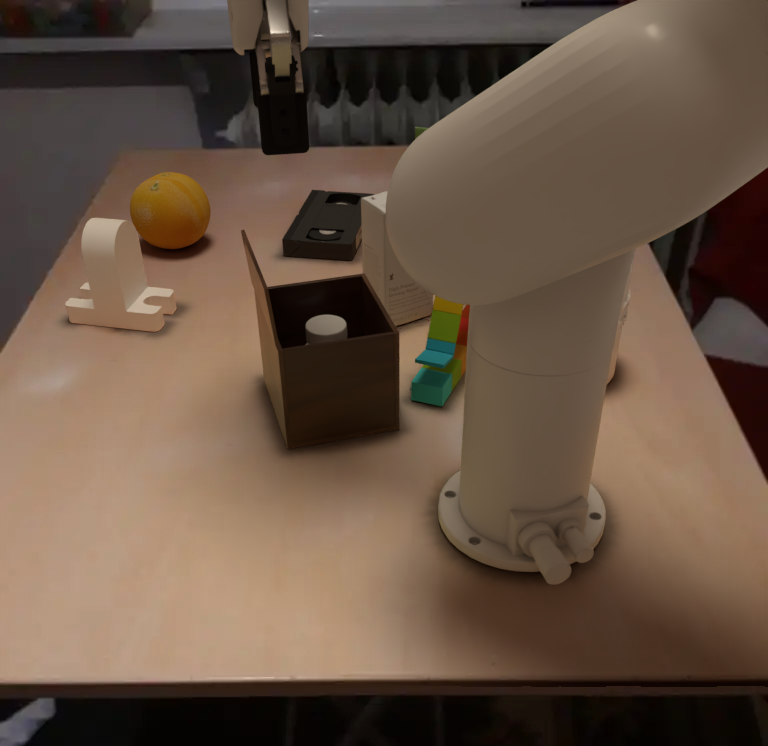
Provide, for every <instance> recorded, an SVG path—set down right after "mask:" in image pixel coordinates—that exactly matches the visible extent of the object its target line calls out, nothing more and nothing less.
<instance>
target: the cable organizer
mask: <svg viewBox="0 0 768 746" xmlns="http://www.w3.org/2000/svg"><path fill="white" fill-rule="evenodd" d="M80 247H81V248H80V249H81V251H80V252H81V257H82V261H83V265H84V266H83V267H84V270H85V273H86V278H87V282H85V283H83V284H82V285H81V286H80V288H79V292H80V297H81V298H76V297H69V298H68V300H67V301H65V302H64V304H65V309H66V314H67V317H68V320H69V322H70V323H72V324H79V325H89V326H97V327H106V328H114V329H115V328H117V329H124V330H133V331H143V332H155V333H157V332H159V331H160V330H162V329H163V327H164V326H165V325H166V322H165V317H164V315H174V313H175V312H176V311H177V309H178V308H177V302H176V296H175V291H174V290H173V289H172V288H164V287H155V286H149V284H148V279H147V275H146V274H147V273H146V269H145V263H144V258H143V254H142V248H141V243H140V238H139V233H138V232H137V230H136V228H135V226H134V225H133V222H132V221H131V220H127V219H115V218H104V217H91V218H89V219H88V220H87V222H86V223H85V225H84V226H83V229H82V233H81V241H80Z"/></svg>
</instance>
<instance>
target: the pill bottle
mask: <svg viewBox="0 0 768 746" xmlns="http://www.w3.org/2000/svg"><path fill="white" fill-rule="evenodd" d="M342 339H347V324H346V322H345V320H344V319H342V318H341V317H338V316H335V315H319V316H315V317H313V318H311V319H310V320H308V321H307V323H306V340H307V344H306V345H309V344H316V343H322V342H329V341H335V340H342Z"/></svg>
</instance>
